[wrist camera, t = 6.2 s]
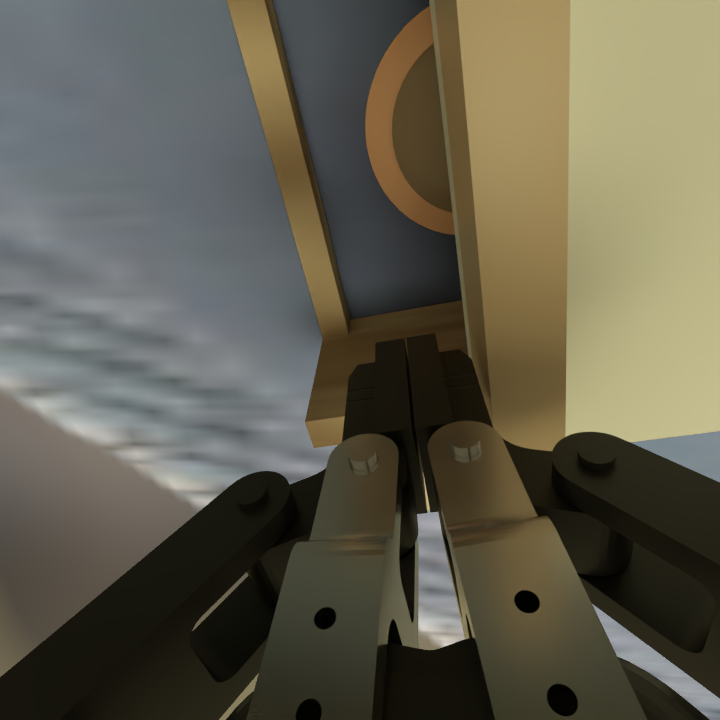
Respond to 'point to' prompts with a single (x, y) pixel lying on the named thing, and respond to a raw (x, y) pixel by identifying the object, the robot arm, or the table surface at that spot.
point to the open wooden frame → (321, 234)
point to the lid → (586, 211)
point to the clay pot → (410, 128)
